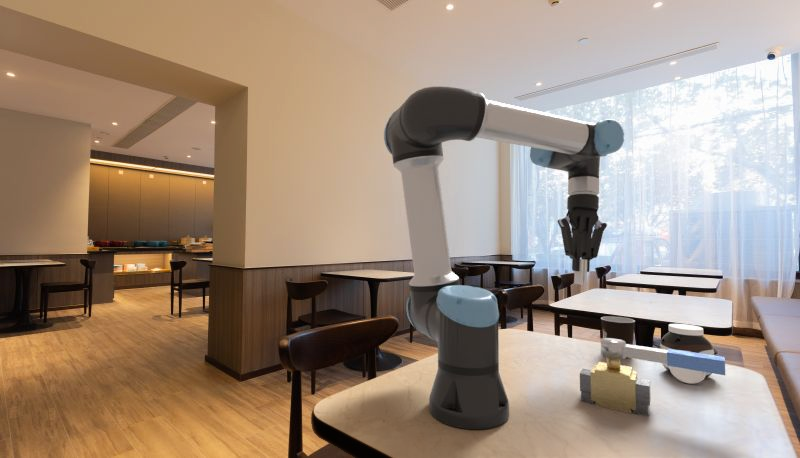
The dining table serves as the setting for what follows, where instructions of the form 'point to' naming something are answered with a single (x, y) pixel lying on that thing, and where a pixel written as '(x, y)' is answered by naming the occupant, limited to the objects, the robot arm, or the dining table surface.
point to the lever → (663, 356)
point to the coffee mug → (618, 328)
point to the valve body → (615, 387)
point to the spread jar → (686, 349)
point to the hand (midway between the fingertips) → (580, 284)
